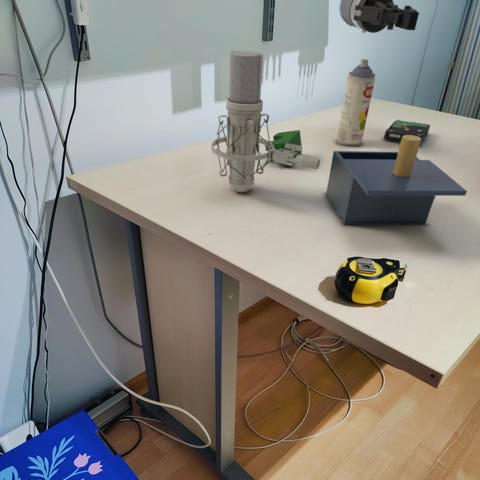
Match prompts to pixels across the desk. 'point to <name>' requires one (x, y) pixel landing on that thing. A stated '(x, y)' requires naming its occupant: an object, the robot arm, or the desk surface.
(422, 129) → the disk drive
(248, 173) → the microphone
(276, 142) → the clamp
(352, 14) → the robot arm
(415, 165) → the lid
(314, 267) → the desk surface
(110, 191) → the desk surface
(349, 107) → the aerosol can
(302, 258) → the desk surface
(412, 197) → the bin
